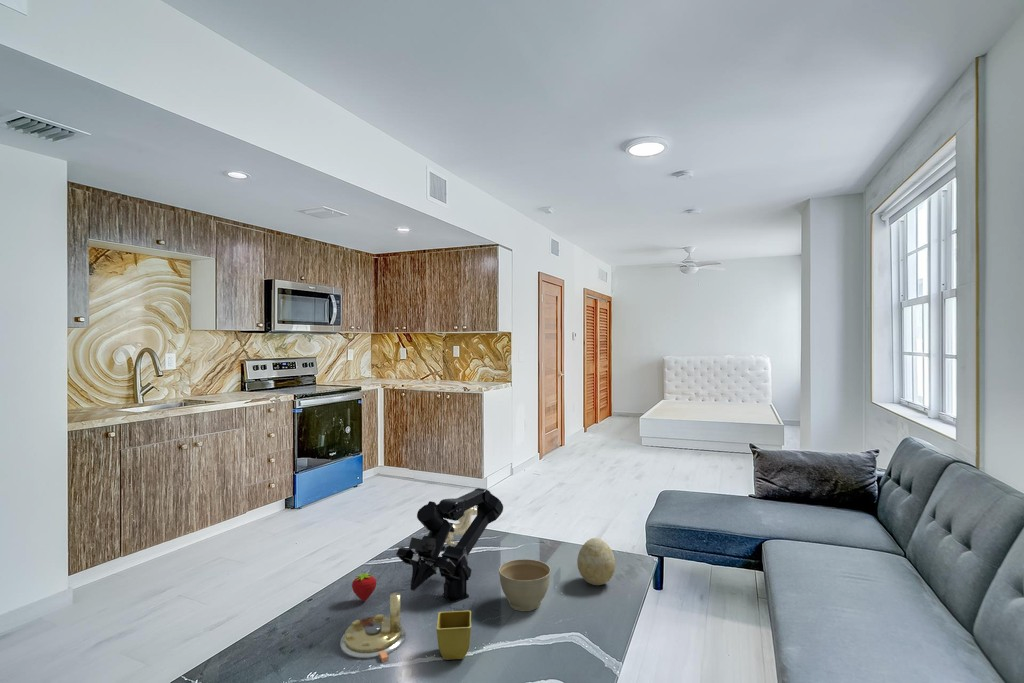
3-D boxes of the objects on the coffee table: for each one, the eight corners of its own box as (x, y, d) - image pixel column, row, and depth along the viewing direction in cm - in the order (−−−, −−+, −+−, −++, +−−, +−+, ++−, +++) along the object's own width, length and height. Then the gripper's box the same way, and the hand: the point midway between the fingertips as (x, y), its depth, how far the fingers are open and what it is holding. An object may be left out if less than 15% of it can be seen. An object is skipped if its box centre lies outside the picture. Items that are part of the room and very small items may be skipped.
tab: (378, 656, 130) (378, 652, 130) (384, 654, 131) (385, 650, 131) (382, 662, 128) (382, 658, 128) (388, 660, 128) (388, 656, 129)
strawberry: (376, 604, 157) (376, 572, 157) (350, 607, 155) (350, 574, 155) (377, 595, 163) (377, 564, 163) (352, 598, 161) (352, 566, 161)
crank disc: (336, 653, 130) (336, 609, 130) (354, 622, 145) (354, 582, 145) (394, 652, 130) (394, 609, 130) (406, 621, 145) (406, 582, 145)
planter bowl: (558, 597, 161) (558, 563, 161) (539, 622, 146) (539, 584, 146) (512, 588, 168) (512, 555, 168) (490, 610, 153) (489, 574, 153)
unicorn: (433, 553, 197) (433, 509, 197) (431, 549, 201) (431, 506, 201) (482, 546, 204) (482, 503, 204) (479, 542, 208) (479, 500, 208)
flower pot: (438, 645, 135) (438, 611, 135) (471, 643, 136) (471, 609, 136) (436, 665, 126) (436, 629, 127) (471, 663, 127) (471, 627, 127)
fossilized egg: (573, 588, 167) (572, 542, 168) (582, 572, 179) (582, 530, 179) (611, 595, 163) (611, 548, 163) (618, 578, 174) (618, 534, 175)
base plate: (390, 617, 150) (390, 605, 150) (415, 644, 136) (415, 630, 136) (332, 636, 140) (332, 623, 140) (352, 667, 126) (352, 653, 126)
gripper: (400, 520, 154) (373, 570, 144) (450, 530, 144) (425, 584, 134) (417, 538, 160) (392, 587, 150) (465, 549, 151) (442, 602, 141)
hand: (412, 589), depth 144 cm, fingers closed
